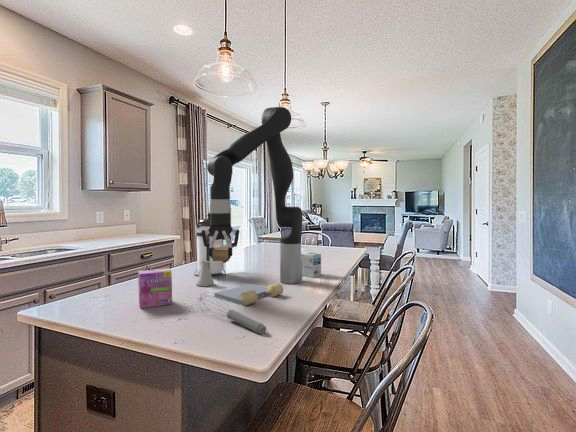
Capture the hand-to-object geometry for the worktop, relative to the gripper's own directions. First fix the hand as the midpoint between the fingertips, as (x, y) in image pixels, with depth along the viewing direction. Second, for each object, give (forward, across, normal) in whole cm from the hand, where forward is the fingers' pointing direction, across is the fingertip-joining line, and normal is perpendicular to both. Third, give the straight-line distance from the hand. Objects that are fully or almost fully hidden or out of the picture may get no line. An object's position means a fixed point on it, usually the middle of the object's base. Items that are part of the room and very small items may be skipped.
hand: (221, 257), depth 125 cm
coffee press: (+16, -9, +40) cm, 44 cm away
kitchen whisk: (+15, +5, -24) cm, 29 cm away
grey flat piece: (+15, +10, +1) cm, 18 cm away
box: (+15, -22, -6) cm, 27 cm away
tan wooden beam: (+1, 0, +4) cm, 4 cm away
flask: (+15, -9, +21) cm, 27 cm away
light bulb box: (+16, +38, +36) cm, 54 cm away
